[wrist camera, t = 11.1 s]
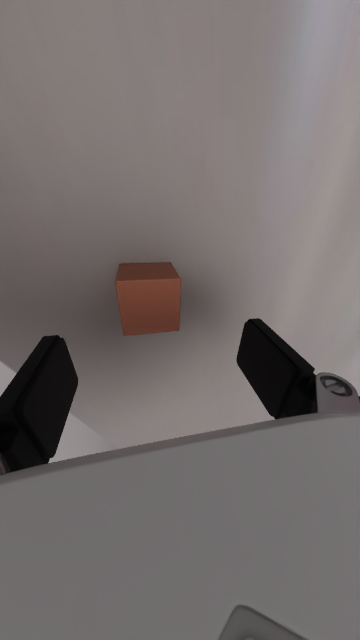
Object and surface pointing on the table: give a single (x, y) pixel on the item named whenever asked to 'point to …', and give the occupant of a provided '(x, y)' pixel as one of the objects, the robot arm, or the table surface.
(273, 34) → the table surface
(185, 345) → the table surface
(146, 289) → the block
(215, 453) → the robot arm
